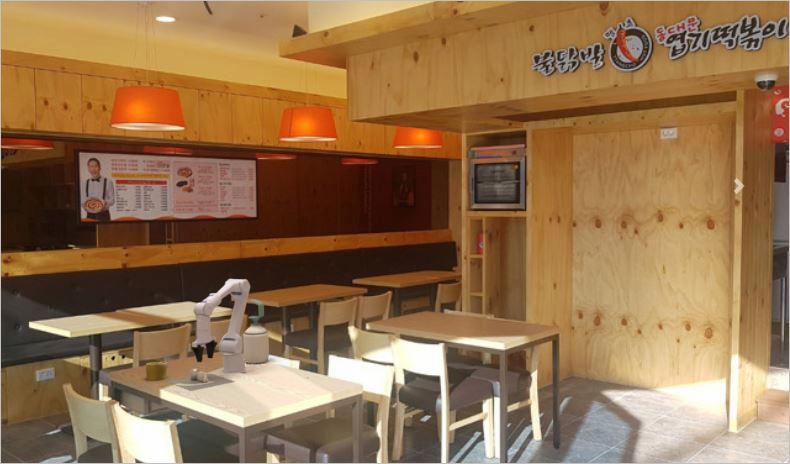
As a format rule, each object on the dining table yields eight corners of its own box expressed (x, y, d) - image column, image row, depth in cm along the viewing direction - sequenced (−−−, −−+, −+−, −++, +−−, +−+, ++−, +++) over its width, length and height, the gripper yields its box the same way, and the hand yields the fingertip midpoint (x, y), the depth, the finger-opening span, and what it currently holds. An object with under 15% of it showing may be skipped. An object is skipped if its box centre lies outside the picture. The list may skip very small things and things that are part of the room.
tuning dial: (188, 378, 313) (188, 369, 313) (197, 377, 316) (197, 367, 316) (203, 383, 304) (203, 373, 304) (212, 381, 307) (212, 371, 307)
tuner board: (210, 375, 324) (210, 373, 324) (235, 383, 308) (235, 381, 308) (166, 384, 309) (166, 381, 309) (190, 393, 293) (190, 390, 293)
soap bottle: (251, 358, 358) (249, 297, 357) (273, 359, 355) (271, 298, 354) (239, 364, 346) (237, 301, 345) (262, 365, 343) (260, 301, 342)
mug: (163, 379, 310) (158, 357, 312) (143, 386, 312) (138, 364, 314) (178, 378, 321) (173, 357, 323) (159, 384, 323) (154, 363, 326)
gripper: (206, 326, 319) (207, 356, 320) (185, 332, 306) (187, 363, 306) (219, 327, 317) (220, 356, 317) (199, 333, 303) (200, 364, 304)
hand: (204, 360), depth 312 cm, fingers open, 7 cm apart
